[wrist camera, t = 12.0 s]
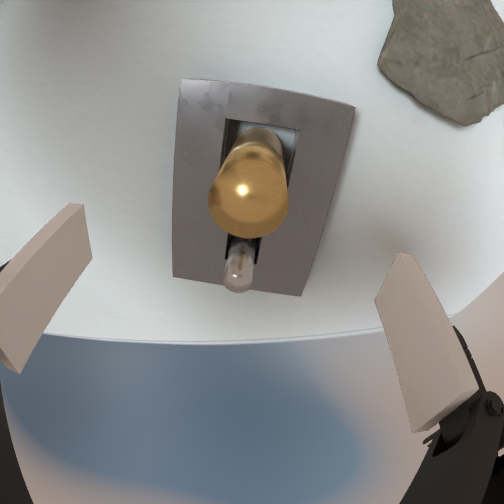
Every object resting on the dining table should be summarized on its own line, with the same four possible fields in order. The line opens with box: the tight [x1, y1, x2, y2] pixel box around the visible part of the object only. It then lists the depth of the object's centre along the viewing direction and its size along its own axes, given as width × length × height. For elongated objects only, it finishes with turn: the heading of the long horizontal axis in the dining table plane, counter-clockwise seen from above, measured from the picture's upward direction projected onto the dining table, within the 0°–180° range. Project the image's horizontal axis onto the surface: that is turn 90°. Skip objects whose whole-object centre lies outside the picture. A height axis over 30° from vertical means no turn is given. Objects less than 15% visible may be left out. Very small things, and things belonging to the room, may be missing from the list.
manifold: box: [172, 79, 355, 297], centre depth 25 cm, size 20×14×8 cm
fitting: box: [208, 127, 289, 238], centre depth 21 cm, size 4×4×12 cm
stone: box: [377, 0, 504, 126], centre depth 16 cm, size 18×5×15 cm
